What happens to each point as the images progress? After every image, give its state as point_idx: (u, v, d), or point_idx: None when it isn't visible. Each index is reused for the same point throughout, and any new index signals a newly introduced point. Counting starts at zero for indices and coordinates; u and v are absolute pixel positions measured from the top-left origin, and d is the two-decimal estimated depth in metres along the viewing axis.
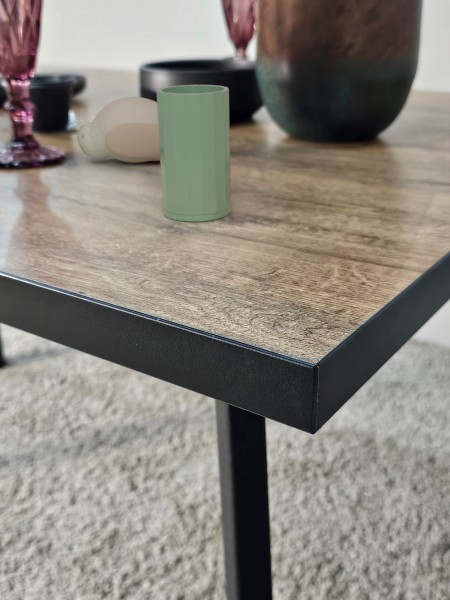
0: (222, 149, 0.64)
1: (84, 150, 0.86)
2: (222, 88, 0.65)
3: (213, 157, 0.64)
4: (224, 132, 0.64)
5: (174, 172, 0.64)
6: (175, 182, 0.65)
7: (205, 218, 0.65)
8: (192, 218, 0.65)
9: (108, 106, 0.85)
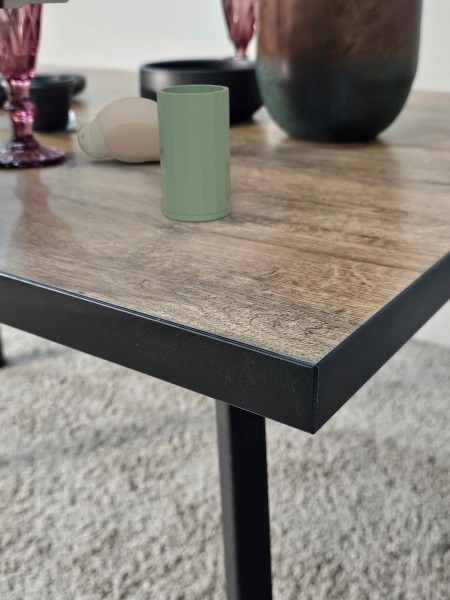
0: (222, 149, 0.64)
1: (84, 150, 0.86)
2: (222, 88, 0.65)
3: (213, 157, 0.64)
4: (224, 132, 0.64)
5: (174, 172, 0.64)
6: (175, 182, 0.65)
7: (205, 218, 0.65)
8: (192, 218, 0.65)
9: (108, 106, 0.85)
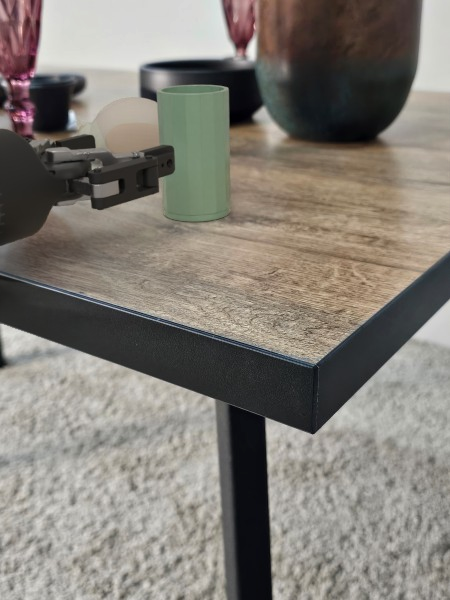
0: (222, 149, 0.64)
1: None
2: (222, 88, 0.65)
3: (213, 157, 0.64)
4: (224, 132, 0.64)
5: (174, 172, 0.64)
6: (175, 182, 0.65)
7: (205, 218, 0.65)
8: (192, 218, 0.65)
9: (108, 106, 0.85)
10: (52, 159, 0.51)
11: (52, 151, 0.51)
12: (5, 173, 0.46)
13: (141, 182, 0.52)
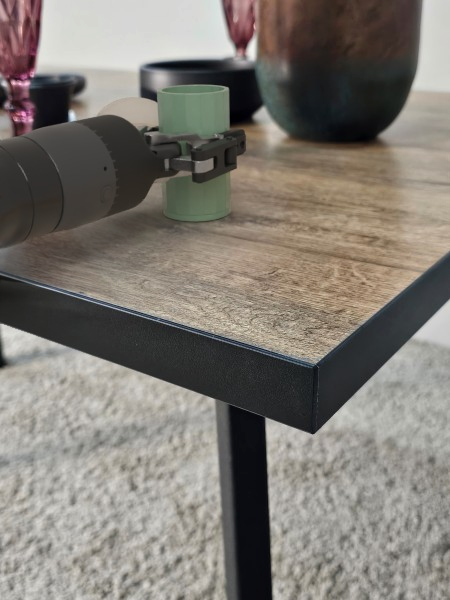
0: None
1: None
2: (222, 88, 0.65)
3: None
4: None
5: None
6: (175, 182, 0.65)
7: (205, 218, 0.65)
8: (192, 218, 0.65)
9: (108, 106, 0.85)
10: (150, 141, 0.59)
11: (152, 134, 0.59)
12: (120, 152, 0.54)
13: None
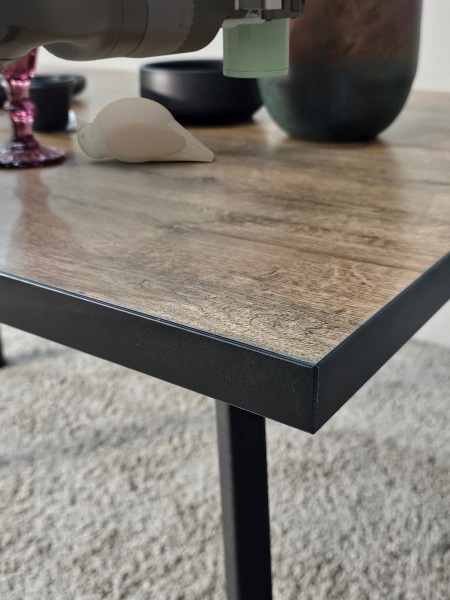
0: None
1: (84, 150, 0.86)
2: None
3: None
4: None
5: (237, 27, 0.67)
6: (238, 38, 0.67)
7: (265, 74, 0.68)
8: (253, 74, 0.68)
9: (108, 106, 0.85)
10: None
11: None
12: None
13: None
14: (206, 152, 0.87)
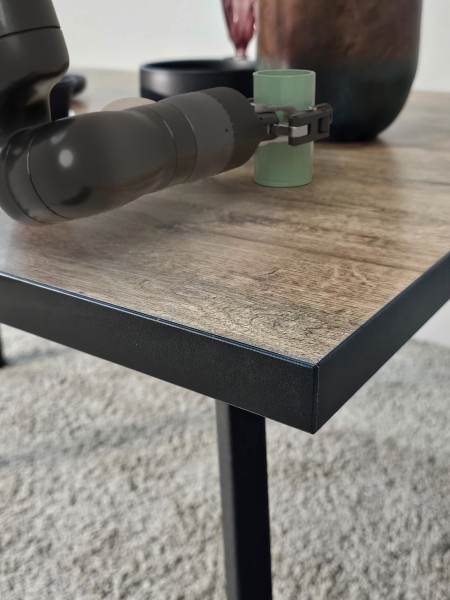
0: None
1: None
2: (308, 72, 0.75)
3: None
4: None
5: (268, 144, 0.75)
6: (268, 152, 0.75)
7: (293, 184, 0.76)
8: (282, 183, 0.76)
9: (108, 106, 0.85)
10: None
11: (254, 104, 0.69)
12: (236, 117, 0.64)
13: None
14: None
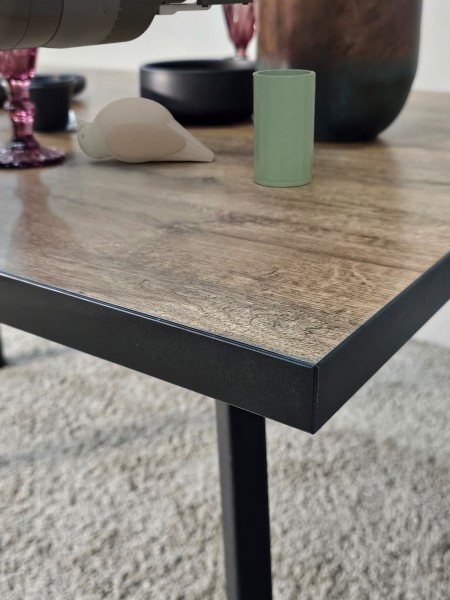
0: (309, 124, 0.75)
1: (84, 150, 0.86)
2: (308, 72, 0.75)
3: (301, 131, 0.74)
4: (311, 109, 0.74)
5: (268, 144, 0.75)
6: (268, 152, 0.75)
7: (293, 184, 0.76)
8: (282, 183, 0.76)
9: (108, 106, 0.85)
10: None
11: None
12: None
13: None
14: (206, 152, 0.87)
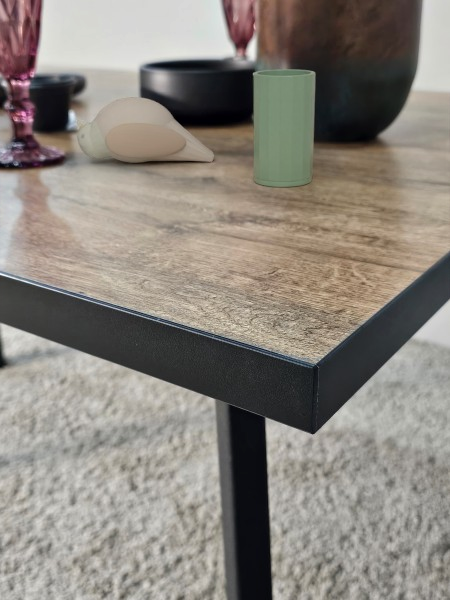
0: (309, 124, 0.75)
1: (84, 150, 0.86)
2: (308, 72, 0.75)
3: (301, 131, 0.74)
4: (311, 109, 0.74)
5: (268, 144, 0.75)
6: (268, 152, 0.75)
7: (293, 184, 0.76)
8: (282, 183, 0.76)
9: (108, 106, 0.85)
10: None
11: None
12: None
13: None
14: (206, 152, 0.87)
